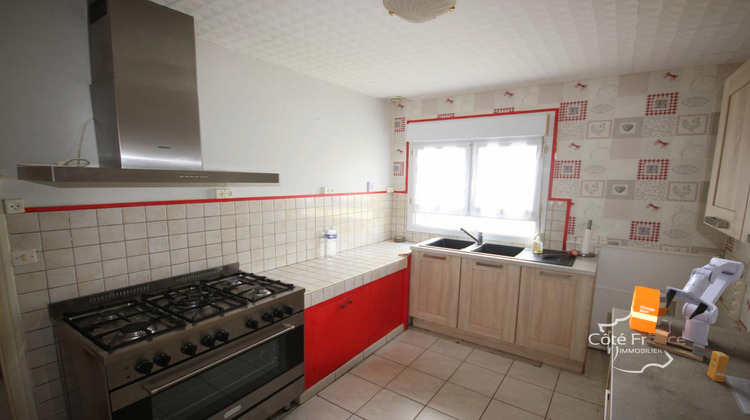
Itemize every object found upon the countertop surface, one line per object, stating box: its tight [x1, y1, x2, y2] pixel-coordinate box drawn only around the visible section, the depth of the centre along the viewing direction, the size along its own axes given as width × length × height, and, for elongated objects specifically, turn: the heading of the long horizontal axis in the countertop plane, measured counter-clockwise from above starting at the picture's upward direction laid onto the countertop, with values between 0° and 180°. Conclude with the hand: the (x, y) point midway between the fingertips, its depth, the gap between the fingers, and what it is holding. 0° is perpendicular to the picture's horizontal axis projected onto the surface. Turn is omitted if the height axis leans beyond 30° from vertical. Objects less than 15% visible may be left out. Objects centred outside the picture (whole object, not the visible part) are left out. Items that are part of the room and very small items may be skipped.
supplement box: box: [706, 350, 730, 383], centre depth 116 cm, size 3×3×10 cm
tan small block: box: [653, 328, 669, 345], centre depth 137 cm, size 5×4×4 cm
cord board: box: [646, 333, 706, 363], centre depth 135 cm, size 9×17×5 cm, turn 46°
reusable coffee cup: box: [645, 286, 669, 326], centre depth 158 cm, size 13×13×15 cm
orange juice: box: [628, 285, 661, 335], centre depth 150 cm, size 8×9×20 cm
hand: (678, 312), depth 130 cm, fingers open, 7 cm apart
